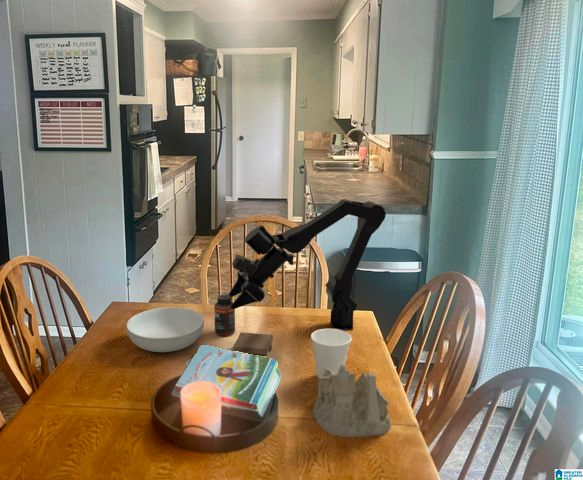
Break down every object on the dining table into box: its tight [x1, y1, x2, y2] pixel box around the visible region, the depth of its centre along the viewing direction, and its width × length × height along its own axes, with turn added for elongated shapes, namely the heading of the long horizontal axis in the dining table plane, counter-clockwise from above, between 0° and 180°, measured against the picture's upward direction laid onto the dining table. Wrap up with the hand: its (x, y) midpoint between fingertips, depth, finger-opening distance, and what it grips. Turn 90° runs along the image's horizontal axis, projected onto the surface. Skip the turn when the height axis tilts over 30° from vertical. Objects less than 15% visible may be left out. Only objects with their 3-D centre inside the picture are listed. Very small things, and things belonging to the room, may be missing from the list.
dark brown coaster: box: [232, 331, 274, 357], centre depth 140 cm, size 9×9×4 cm
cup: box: [310, 328, 353, 380], centre depth 128 cm, size 10×10×11 cm
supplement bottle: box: [213, 294, 236, 337], centre depth 152 cm, size 6×6×11 cm
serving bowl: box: [125, 306, 205, 353], centre depth 144 cm, size 21×21×7 cm
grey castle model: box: [312, 364, 392, 438], centre depth 112 cm, size 16×16×15 cm
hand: (230, 302), depth 151 cm, fingers open, 9 cm apart
